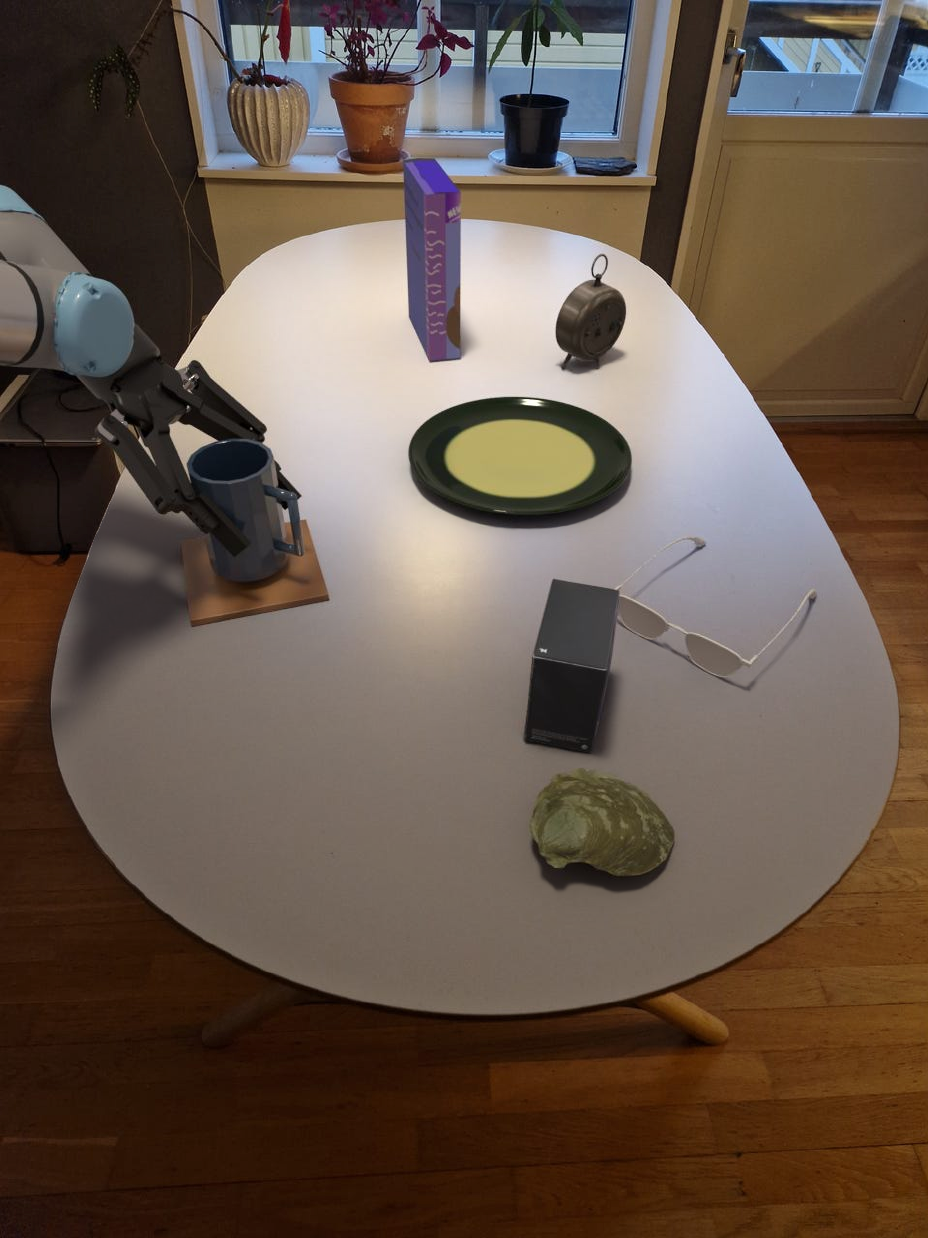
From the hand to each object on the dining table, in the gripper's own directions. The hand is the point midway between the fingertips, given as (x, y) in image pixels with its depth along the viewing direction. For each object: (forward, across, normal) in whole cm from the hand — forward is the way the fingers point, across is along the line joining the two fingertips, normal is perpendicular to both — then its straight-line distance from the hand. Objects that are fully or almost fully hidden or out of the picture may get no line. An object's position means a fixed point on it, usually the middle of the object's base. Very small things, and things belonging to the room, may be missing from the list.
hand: (269, 525), depth 87 cm
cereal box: (-3, -62, -14) cm, 64 cm away
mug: (+2, 0, -5) cm, 5 cm away
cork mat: (+3, 0, -7) cm, 8 cm away
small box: (+29, +4, +19) cm, 35 cm away
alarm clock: (+15, -64, +4) cm, 65 cm away
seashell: (+34, +16, +24) cm, 45 cm away
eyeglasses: (+36, -15, +26) cm, 47 cm away
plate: (+16, -32, +5) cm, 36 cm away
